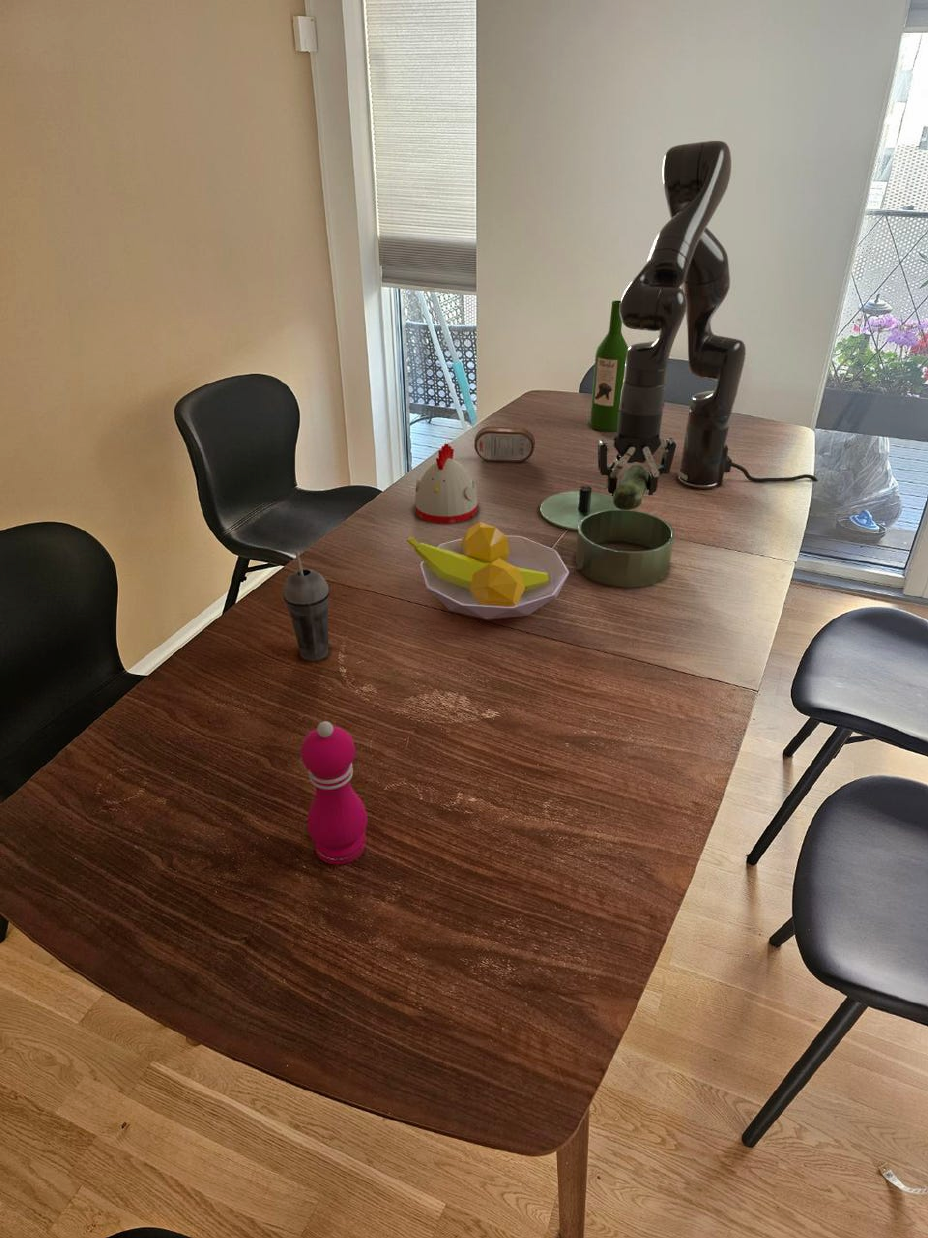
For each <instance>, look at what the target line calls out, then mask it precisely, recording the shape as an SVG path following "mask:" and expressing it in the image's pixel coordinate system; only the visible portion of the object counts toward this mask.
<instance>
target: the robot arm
mask: <svg viewBox="0 0 928 1238" xmlns="http://www.w3.org/2000/svg"><path fill="white" fill-rule="evenodd" d="M731 175H732V155H731V150H730V147H729V145H728V143H726V142H725V141H723V140H707V141H699V142H692V143H685V144H678V145H675V146H671V147H670V148H669V149H668V150H667V151H666V153H665V155H664V158H663V163H662V183H663V190H664V195H665V199H666V204H667V208H668V212H669V216H670V219H669V220H668V221H667V222H666V223H665V224H664V225H663V227H662V228H661V229H660V231H659V232H658V233H657V235H656V237H655V238H654V241H653V243H652V246H651V249H650V251H649V255H648V257H647V260H646V262H645V264H644V265H643V267H642V268H641V270H640V271H639V272H638V274H637V275H635V277H634V278H633V279H632V281H631V282H630V283H629V285H628V286H627V287H626V289H625V290H624V292H623V295H622V297H621V299H620V301H621V302H620V308H619V313H620V318H621V321H622V325H624V326H625V327H626V328H628V329H631V330H639V331H648V332H658V333H659V335H658V337H657V339H654V340H652V341H645V342H644V341H643V342H638V343H634V344H632V345H630V346H628V348H629V349H628V351H627V355H626V363H625V372H624V381H623V386H622V390H621V396H620V406H619V415H618V425H617V430H616V433H615V434H616V435H615V436H614V438H613V439H611V440H604V439H602V438H601V439H598V441H597V468H598V470H599V472H600V475H602V476H607V481H606V490H607V492H608V494H610V495H609V496H611V497H613V494H614V492H615V490H616V488H617V487H618V486H617V485H618V477H617V476H618V474H619V473H620V472H621V470H622V469H624V467H625V466H626V464H634V463H639V464H644V463H646V464H647V467H648V469H649V472H648V473H647V474H648V482H647V487H646V493H647V495H648V496H653V495H654V493H656V491H657V490H658V482H659V477H660V476H662V475H663V474H665V475H668V474H669V473H670V471H671V467H672V463H673V459H674V456H675V452H676V448H677V444H676V442H675V441H674V439H673V438H672V437H668V438H667V439H664V438H663V439H661V437H660V434H661V427H662V419H663V413H664V412H663V411H664V407H665V397H666V379H667V371H668V364H669V359H670V355H671V351H672V347H673V344H674V341H675V338H676V337H677V334H678V331H679V330H680V328H681V325H682V323H683V320H684V318H685V317H686V318H685V319H686V330H687V332H686V333H687V357H688V358H687V359H688V366H689V370H690V372H691V373H692V375H694V376H695V377H697V378H700V379H704V380H709V381H713V382H716V386H715V389H714V390H707V391H701V392H698V393H695V394H694V395H693V396H692V397H691V399H690V403H689V411H688V416H687V421H686V423H687V424H686V429H685V436H684V441H683V449H682V454H681V462H680V467H679V470H678V473H677V476H678V478H677V479H678V482H680V484H681V485H683V486H686V487H688V488H693V489H699V490H709V489H714V488H717V487H722V485H723V480H724V474H726V473H731V469H732V468H735V469H737V470H739V471H741V472H742V473H743V474H744V476H745V478H746V479H748V480H749V481H752V482H754V483H768V482H770V483H771V482H774V483H776V482H777V483H779V482H793V481H799V480H803V479H809V480H811V481H812V482H816V483H817V482H819V480H818V479H817V477H816V476H815V475H812V474H809V473H804V474H800V475H795V476H791V477H790V476H789V477H788V476H787V477H754V476H752V475H750V473H749V471H748V470H747V469H746V468H745V467H743V466H742V465H740V464H737V463H735V462H733V460H732V458H730V456H729V455H728V453H729V446H728V445H727V440H728V435H729V430H730V423H731V419H732V413H733V408H734V404H735V401H736V398H737V395H738V391H739V385H740V381H741V377H742V373H743V370H744V366H745V360H746V354H747V353H746V352H747V351H746V344H745V343H744V341H743V340H741V339H738V338H732V337H729V336H723V335H718V334H714V333H713V330H712V319H713V317H714V315H715V313H716V312H717V311H718V309H719V308H720V307H721V305H722V304H723V302H724V301H725V299H726V297H727V296H728V293H729V290H730V287H731V276H730V275H731V274H730V265H729V264H730V263H729V257H728V253H727V251H726V248H725V247H724V246H723V244H722V243H721V241H720V240H719V239H718V238H717V237H716V235H714V233H713V232H712V231H711V230H710V229H709V228H708V225H709V224H710V222H711V220H712V218H713V216H714V214H715V213H716V211H717V209H718V207H719V206H720V204H721V202H722V200H723V199H724V196H725V194H726V192H727V190H728V186H729V184H730V179H731ZM660 447H661V451H662V456H661V460H660V464H658V465H657V463H656V461H655V458H654V456H653V455H654V454H655V453H656V452H657V450H658V449H660ZM612 448H614V449H615V450H616V451H617V452H616V454H615V455H614V457H613V460H612V462H611V463H610V465H609V466H608V454H610V453H611V450H612Z"/></svg>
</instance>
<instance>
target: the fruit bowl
mask: <svg viewBox="0 0 928 1238" xmlns="http://www.w3.org/2000/svg"><path fill="white" fill-rule="evenodd" d="M406 542H407V543H409V545H411V547H413V548H414V550H413V551H414V552H415V553H416V554H417V556H419V558H420V559H421V560H422V561H421V563H420V564H419V565H420V568H421V572H422V575H423V579H424V583H425V585H426V588H427V591H429V593H431V594H432V595H433V596H434V597H435V598H436V599H437V600H438V601H439V602H440V603H441V604H442V605H444V606H445V608H447V609H448V610H449V611H450V612H455V613H459V614H462V615H463V614H464V615H468V616H472V617H475V618H480V619H485V620H496V619H505V618H516V617H525V616H526V617H527V616H529V615H532V614H533V613H534V612H535V611H537V610H539V609H541V608H542V607H543V606H545V605H547V604H548V603H549V602H551V601H553V600H555V599H556V598H558V595H559V594H560V591H561V590H562V588H563V587H564V584H565V582H566V580H567V578H568V576H569V574H570V570H569V569H568V568H567V566H566V564H565V563H564V562H563V560H562V558H561V556H560V554H559V552H558V551H557V550H556V549H553V548H551V547H549V546H547V545H544V544H541V543H539V542H538V541H537V542H536V541H534V540H532V539H529V538H527V537H524V536H523V535H507V534H505V533H504V532H502V531H501V530H500V529H499V528H497V527H496V526H495V525H492V524H489V523H485V522H483V521H478V522H477V523H475V524H474V525H472V526H470V527H469V528H468V529H467V530H466V532H465V534H464V536H463V537H462V538H458V539H455V540H451V541H447V542H443V543H440V544H439V545H437V546H434V545H431V544H427V543H423V542H418V541H417V540H415V539H414V537H412V536H408V537H407V538H406Z"/></svg>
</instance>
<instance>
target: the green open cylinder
mask: <svg viewBox="0 0 928 1238" xmlns="http://www.w3.org/2000/svg"><path fill="white" fill-rule="evenodd" d="M674 539H675V531H674V529H673V527H672V525H670V524H669V523H668V522H667V521H666V520H664V519H662V517H661V518H660V517H659V516H657V515H654V514H651V513H649V512H645V511H642V510H641V511H640V510H635V509H631V510H622V509H610V510H603V511H598V512H595V513H592V514H590V515H588V516H586V517H584V518H583V519H582V520H581V522H580V523H579V527H578V531H577V539H576V549H575V562H576V565H577V567H578V568H579V569H578V570H579V572H580V573H581V574H582V575H584V576H585V577H586V578H588V579H590V580H591V581H593V582H596V583H598V584H601V585H606V586H609V587H615V588H625V589H626V588H627V589H628V588H629V589H635V588H643V587H648V586H651V585H652V586H653V585H655V584H657V583H659V582H661V581H662V580H664V579H665V577H667V575H668V573H669V570H670V566H671V559H672V553H673V547H674V541H675V540H674ZM605 542H627V543H633V544H638V545H641V546H644V547H647V548H649V549H647V550H641V551H627V550H617V549H613V548H608V547H604V546H602V545H600V544H599V543H605Z"/></svg>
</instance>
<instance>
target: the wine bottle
mask: <svg viewBox="0 0 928 1238" xmlns="http://www.w3.org/2000/svg"><path fill="white" fill-rule="evenodd" d="M620 302H621V300H612V301H611V307H610V316H609V326H608V332H607V334H606V335H605V337H604V338H603V340H602V341H601V343H600V344H599V346H598V347H597V348H596V352H595V355H594V356H595V357H594V369H593V379H592V380H593V381H592V392H591V405H590V414H589V415H590V416H589V426H590V428H591V429H593V430H596V431H599V432H600V431H601V432H617V425H618V415H619V406H620V396H621V390H622V386H623V381H624V372H625V363H626V355H627V351H628V349H629V346H628V344H627V342H626V339H625V338H624V335H623V333H622V326H623V323H622V321H621V318H620V313H619V308H620Z"/></svg>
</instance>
